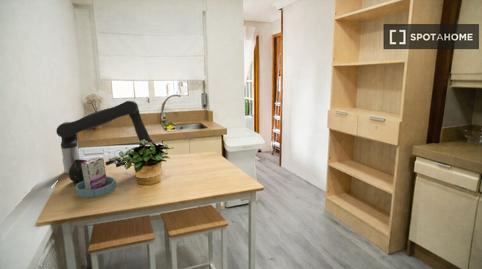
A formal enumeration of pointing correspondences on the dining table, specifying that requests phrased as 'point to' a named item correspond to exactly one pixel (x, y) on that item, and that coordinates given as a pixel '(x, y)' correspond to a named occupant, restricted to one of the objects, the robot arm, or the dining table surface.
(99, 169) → the candy bar box
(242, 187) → the dining table surface
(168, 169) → the dining table surface
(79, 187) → the bowl
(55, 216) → the dining table surface
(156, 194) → the dining table surface
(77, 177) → the squash
